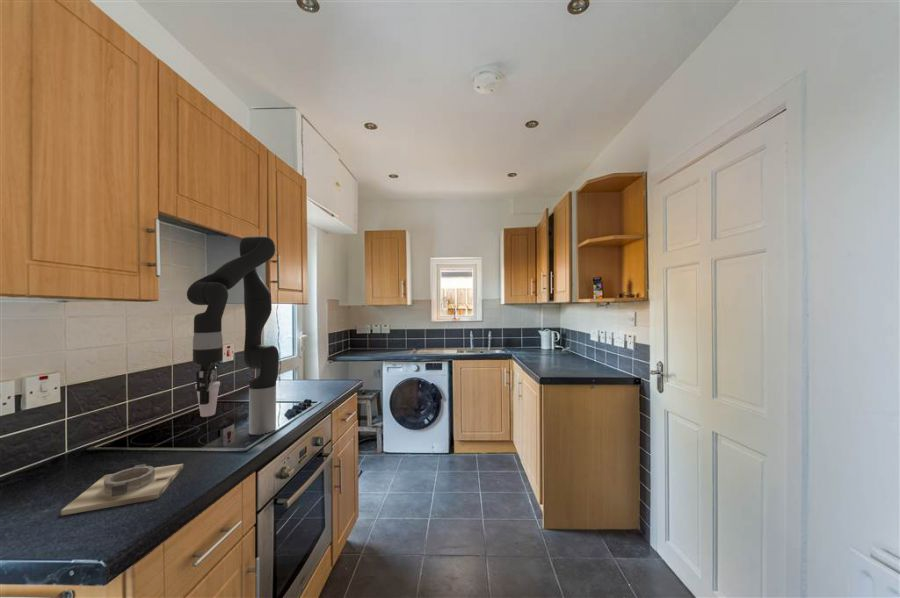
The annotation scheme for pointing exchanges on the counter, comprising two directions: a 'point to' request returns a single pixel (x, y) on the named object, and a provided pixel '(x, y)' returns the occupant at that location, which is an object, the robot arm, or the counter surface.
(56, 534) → the counter surface
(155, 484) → the holder
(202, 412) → the smoothie
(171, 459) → the counter surface
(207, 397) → the robot arm
